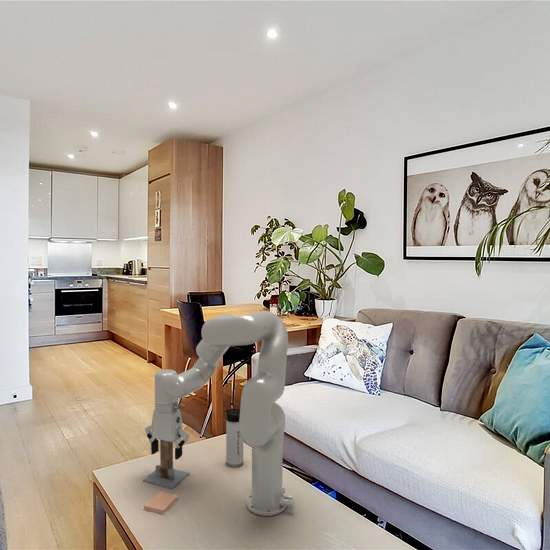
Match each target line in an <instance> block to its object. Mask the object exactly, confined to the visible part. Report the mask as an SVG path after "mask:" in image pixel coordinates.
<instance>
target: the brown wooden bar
mask: <svg viewBox="0 0 550 550" xmlns="http://www.w3.org/2000/svg"><path fill="white" fill-rule="evenodd" d="M159 442H160V443H159V444H160V445H159V446H160V447H159V448H160V449H159V453H160V454H159V455H160V456H159V457H160V458H159V459H160V461H159V462H160V465H159V464H158V465H155V470H156V476H157V477H161V478H165V479H169V480H174V469H175V468H174V443H173V442H169V441H164V440H159Z"/></svg>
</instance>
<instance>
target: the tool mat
mask: <svg viewBox="0 0 550 550" xmlns="http://www.w3.org/2000/svg"><path fill="white" fill-rule="evenodd" d="M173 469H174V480H169V479H165V478H161V477H157V476H156V469H155V470H154V471H152V472H151V473H149V474H148V475H147V476H145V478H143V479H142V482H144V483H147V484H153V485H155V484H156V486H159V485H160V487H163V486H164V487H165V488H167V487H169V489H171V488H172V490H173V489H174V488H176V487H177V486H178V485H179V484H180V483H181V482H183V481H184V478H185V477H186V478H187V477H188V476H189V475H190V472H189V471H184V470H180V469H176V468H173ZM178 483H179V484H178ZM177 484H178V485H177ZM164 487H163V488H164Z"/></svg>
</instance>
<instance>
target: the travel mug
mask: <svg viewBox="0 0 550 550" xmlns="http://www.w3.org/2000/svg"><path fill="white" fill-rule="evenodd" d="M225 413H226V420H225V421H226V423H225V424H226V433H225V436H226V440H225V442H226V443H225V444H226V445H225V447H226V450H225V451H226V454H225V457H226V461H225V463H226V466H228V467H229V466H230V468H238V467H241V466H242V465H243V464H244V442H243V440H242V438H241V436H240V432H239V418H240V409H238V408H229V409H228V408H226V410H225Z"/></svg>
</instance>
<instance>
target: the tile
mask: <svg viewBox="0 0 550 550" xmlns="http://www.w3.org/2000/svg"><path fill="white" fill-rule="evenodd" d="M177 500H178V501H179V495H176V494H173V493H167V492H163V491H158V492H157V493H155V495H154V496H152V497H151V498H150V499H149V500H148V501H147V502H146V503H145V504H143V510H144V511H147V510H148V512H152V513H156V514H160V515H163V516H164V515H165V514H166V513H167V512H168V511H169V510H170V509H171V508H172V507H173V506H174V505H175V504H176V503H177V502H178V501H177ZM176 501H177V502H176ZM175 502H176V503H175ZM174 503H175V504H174ZM172 505H173V506H172ZM171 506H172V507H171Z"/></svg>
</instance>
